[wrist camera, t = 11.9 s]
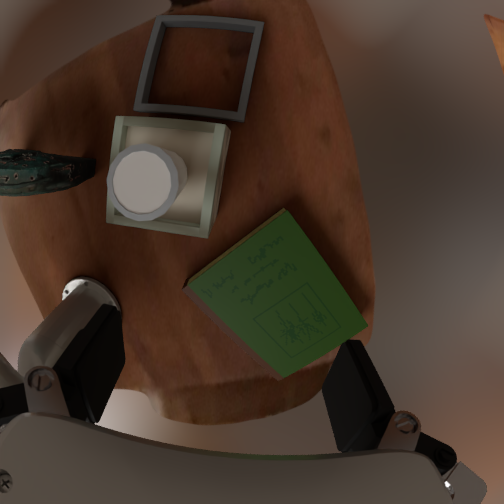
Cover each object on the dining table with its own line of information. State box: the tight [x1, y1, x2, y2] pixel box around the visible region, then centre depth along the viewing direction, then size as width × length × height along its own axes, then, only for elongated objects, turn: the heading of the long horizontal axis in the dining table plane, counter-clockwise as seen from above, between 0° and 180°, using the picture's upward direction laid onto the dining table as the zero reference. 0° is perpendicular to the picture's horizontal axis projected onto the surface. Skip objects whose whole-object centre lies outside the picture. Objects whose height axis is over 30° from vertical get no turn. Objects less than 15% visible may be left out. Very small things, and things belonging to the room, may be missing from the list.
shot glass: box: [107, 143, 188, 221], centre depth 25 cm, size 7×7×7 cm
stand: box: [106, 116, 231, 238], centre depth 32 cm, size 12×12×10 cm
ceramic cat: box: [0, 149, 96, 196], centre depth 26 cm, size 20×6×20 cm, turn 80°
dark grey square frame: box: [133, 15, 264, 122], centre depth 31 cm, size 15×15×2 cm
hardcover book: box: [182, 208, 368, 381], centre depth 44 cm, size 25×19×4 cm
